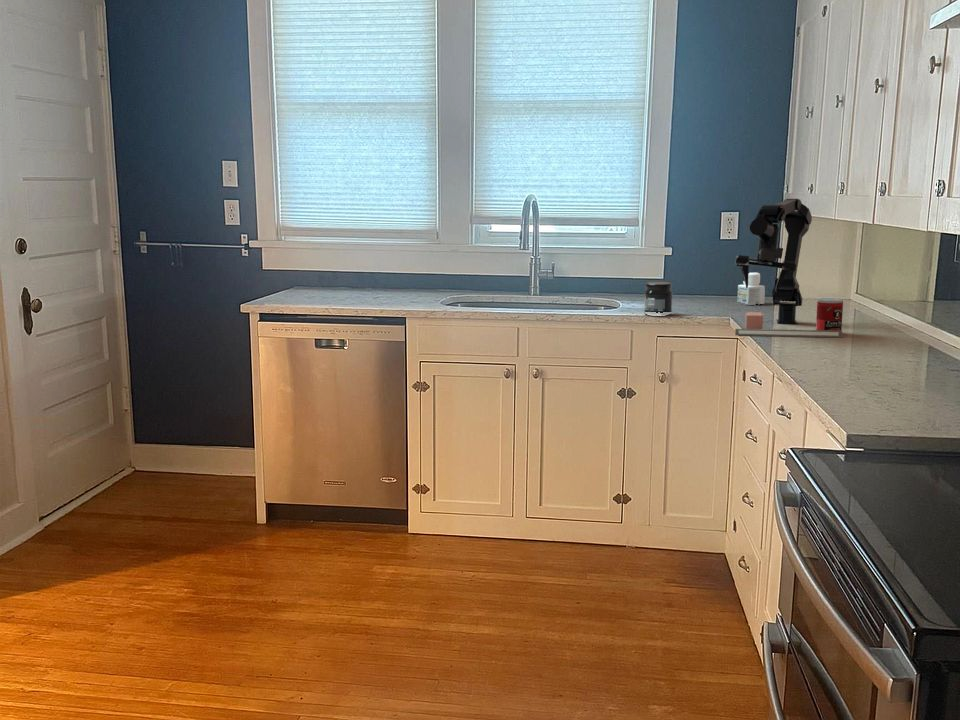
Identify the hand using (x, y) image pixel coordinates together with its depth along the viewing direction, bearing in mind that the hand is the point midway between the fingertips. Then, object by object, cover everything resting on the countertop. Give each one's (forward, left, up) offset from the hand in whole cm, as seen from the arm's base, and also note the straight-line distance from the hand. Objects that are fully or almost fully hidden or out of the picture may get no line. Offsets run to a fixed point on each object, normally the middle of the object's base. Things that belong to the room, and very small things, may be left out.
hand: (761, 289), depth 288 cm
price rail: (+7, +8, -14) cm, 18 cm away
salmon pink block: (-1, -2, -14) cm, 14 cm away
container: (-73, 0, -14) cm, 74 cm away
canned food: (0, +21, -14) cm, 25 cm away
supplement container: (-38, -35, -14) cm, 54 cm away
